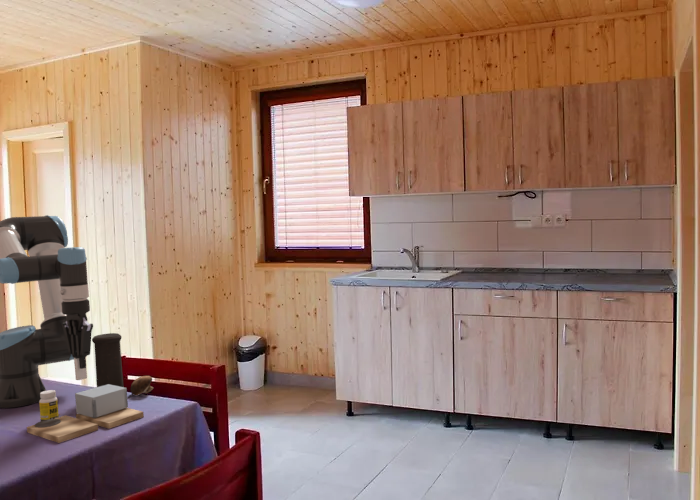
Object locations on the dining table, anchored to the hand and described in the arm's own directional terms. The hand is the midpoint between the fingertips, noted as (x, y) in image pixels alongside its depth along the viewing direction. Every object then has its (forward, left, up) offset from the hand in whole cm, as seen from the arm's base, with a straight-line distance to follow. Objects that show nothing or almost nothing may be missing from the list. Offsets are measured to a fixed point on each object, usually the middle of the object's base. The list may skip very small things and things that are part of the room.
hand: (81, 378), depth 186 cm
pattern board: (+13, 0, -10) cm, 16 cm away
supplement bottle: (-1, -10, -10) cm, 14 cm away
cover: (+10, 0, -8) cm, 13 cm away
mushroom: (0, +20, -10) cm, 23 cm away
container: (-8, +14, -10) cm, 19 cm away
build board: (+11, -13, -10) cm, 20 cm away
